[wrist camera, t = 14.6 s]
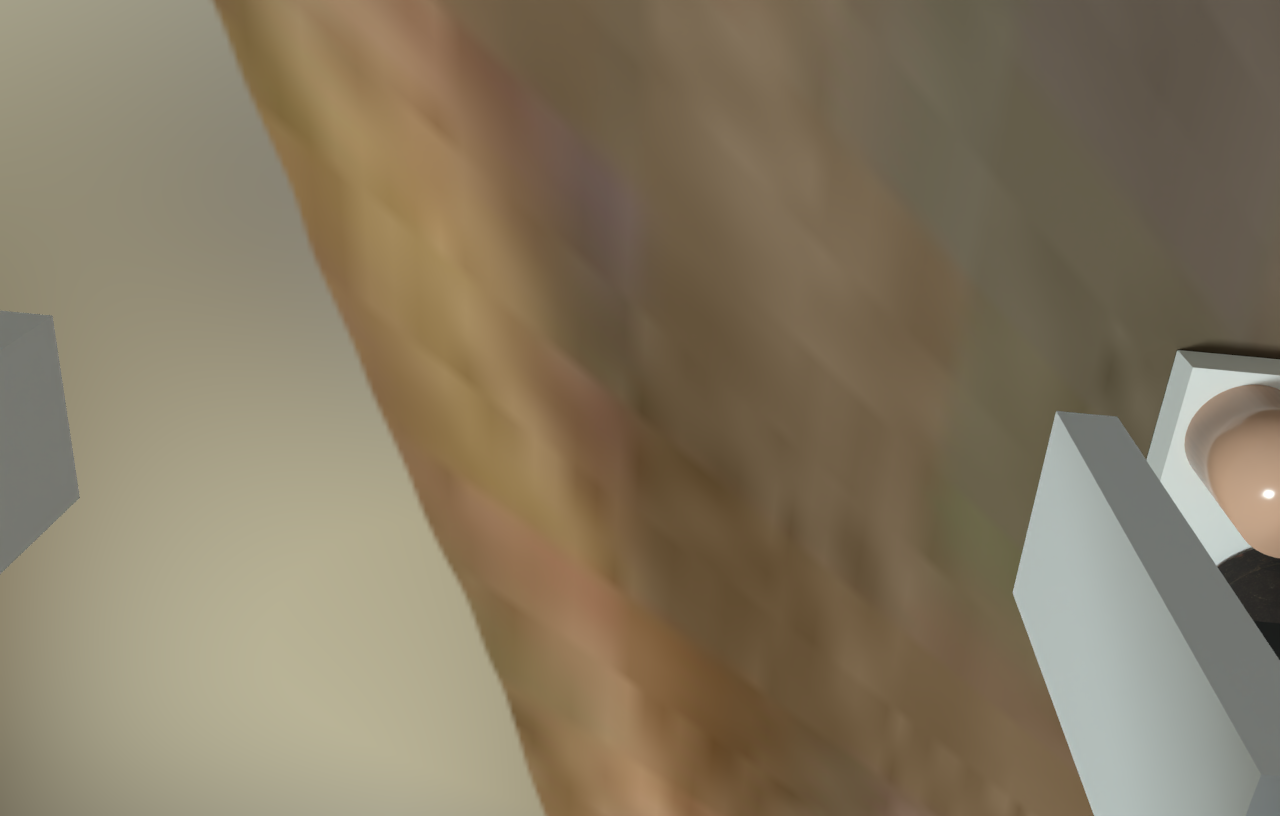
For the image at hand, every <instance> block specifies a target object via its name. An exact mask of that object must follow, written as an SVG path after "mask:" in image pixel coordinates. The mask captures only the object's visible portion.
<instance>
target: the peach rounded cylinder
mask: <svg viewBox="0 0 1280 816" xmlns="http://www.w3.org/2000/svg"><path fill="white" fill-rule="evenodd" d="M1184 446H1185V453H1186V457H1187V460H1188V462H1189V464H1190V466H1191V467H1192V469H1193V470H1194V471H1195V473H1196V474H1197V476H1198V477H1199V478H1200V480H1201V481H1202V482H1203V484H1204V485H1205V486H1206V488H1207V489H1208V491H1209V492H1210V493H1211V495H1212V496H1213V497H1214V499H1215V500H1216V502H1217V503H1218V504H1219V506H1220V507H1221V508H1222V510H1223V511H1224V512H1225V514H1226V515H1227V517H1228V518H1229V519H1230V521H1231V522H1232V523H1233V525H1234V526H1235V527H1236V529H1237V530H1238V532H1239V533H1240V534H1241V536H1242V537H1243V538H1244V540H1245V541H1246V542H1247V543H1248V544H1249V545H1250V546H1251V547H1253V548H1254V549H1256V550H1257V551H1259V552H1261V553H1263V554H1265V555H1268V556H1271V557H1275V558H1280V390H1279V389H1277V388H1274V387H1270V386H1266V385H1243V386H1238V387H1234V388H1231V389H1228V390H1226V391H1224V392H1221V393H1220V394H1218V395H1216V396H1214V397H1213V398H1211V399H1210V400H1209V401H1207V402H1206V403H1205V404H1204V405H1203V406H1202V407H1201V408H1200V409H1199V410H1198V411H1197V412H1196V414H1195V415H1194V417H1193V418H1192V420H1191V422H1190V423H1189V426H1188V428H1187V431H1186V435H1185V443H1184Z"/></svg>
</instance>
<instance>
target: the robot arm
mask: <svg viewBox="0 0 1280 816" xmlns="http://www.w3.org/2000/svg"><path fill="white" fill-rule="evenodd" d="M79 498H80V497H79V490H78V484H77V477H76V470H75V463H74V457H73V451H72V443H71V437H70V430H69V423H68V417H67V411H66V403H65V397H64V390H63V383H62V377H61V370H60V363H59V357H58V350H57V343H56V337H55V330H54V323H53V316H50V315H40V314H29V313H19V312H8V311H0V574H1V573H2V572H3V571H4V570H5V569H6V568H7V567H8V566H9V565H10V564H11V563H12V562H13V561H14V560H15V559H16V558H17V557H18V556H19V555H21V553H23V552H24V551H25V550H26V549H27V548H28V547H29V546H30V545H31V544H32V543H33V542H34V541H35V540H36V539H37V538H38V537H39V536H40V535H41V534H42V533H43V532H45V531H46V530H47V529H48V528H49V527H50V526H51V525H52V524H53V523H54V522H55V521H56V520H57V519H58V518H59V517H60V516H61V515H62V514H63V513H64V512H65V511H66V510H67V509H68V508H69V507H70V506H71V505H73V504H74V503H75V502H76V501H77V500H78V499H79ZM1013 595H1014V598H1015V600H1016V603H1017V606H1018V608H1019V611H1020V614H1021V617H1022V619H1023V622H1024V625H1025V628H1026V630H1027V633H1028V636H1029V639H1030V641H1031V644H1032V647H1033V650H1034V652H1035V655H1036V658H1037V661H1038V663H1039V666H1040V669H1041V671H1042V674H1043V677H1044V680H1045V682H1046V685H1047V688H1048V691H1049V693H1050V696H1051V699H1052V702H1053V704H1054V707H1055V710H1056V713H1057V715H1058V718H1059V721H1060V724H1061V726H1062V729H1063V732H1064V735H1065V737H1066V740H1067V743H1068V745H1069V748H1070V751H1071V754H1072V756H1073V759H1074V762H1075V765H1076V767H1077V770H1078V773H1079V776H1080V778H1081V781H1082V784H1083V787H1084V789H1085V792H1086V795H1087V798H1088V800H1089V803H1090V806H1091V809H1092V811H1093V814H1094V816H1280V623H1270V622H1261V621H1253V620H1252V618H1251V617H1250V615H1249V614H1248V612H1247V611H1246V609H1245V608H1244V606H1243V605H1242V603H1241V602H1240V600H1239V599H1238V597H1237V596H1236V594H1235V593H1234V591H1233V590H1232V588H1231V587H1230V585H1229V584H1228V582H1227V581H1226V579H1225V578H1224V576H1223V575H1222V573H1221V572H1220V570H1219V569H1218V567H1217V566H1216V564H1215V563H1214V561H1213V560H1212V558H1211V557H1210V555H1209V554H1208V552H1207V551H1206V549H1205V548H1204V546H1203V545H1202V543H1201V542H1200V540H1199V539H1198V537H1197V536H1196V534H1195V533H1194V531H1193V530H1192V528H1191V527H1190V525H1189V524H1188V522H1187V521H1186V519H1185V518H1184V516H1183V515H1182V513H1181V512H1180V510H1179V509H1178V507H1177V506H1176V504H1175V503H1174V501H1173V500H1172V498H1171V497H1170V495H1169V494H1168V492H1167V491H1166V489H1165V488H1164V486H1163V485H1162V483H1161V482H1160V480H1159V479H1158V477H1157V476H1156V474H1155V473H1154V471H1153V470H1152V468H1151V467H1150V465H1149V464H1148V462H1147V461H1146V459H1145V458H1144V456H1143V455H1142V453H1141V452H1140V450H1139V449H1138V447H1137V446H1136V444H1135V443H1134V441H1133V440H1132V438H1131V437H1130V435H1129V434H1128V432H1127V431H1126V429H1125V428H1124V426H1123V425H1122V423H1121V422H1120V420H1119V419H1118V417H1113V416H1103V415H1092V414H1082V413H1071V412H1061V411H1056V414H1055V419H1054V423H1053V427H1052V431H1051V435H1050V439H1049V444H1048V448H1047V452H1046V456H1045V460H1044V464H1043V469H1042V473H1041V477H1040V481H1039V485H1038V489H1037V494H1036V498H1035V502H1034V506H1033V510H1032V514H1031V519H1030V523H1029V527H1028V531H1027V535H1026V539H1025V544H1024V548H1023V552H1022V556H1021V560H1020V564H1019V569H1018V573H1017V577H1016V581H1015V585H1014V589H1013Z"/></svg>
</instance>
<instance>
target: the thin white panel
mask: <svg viewBox="0 0 1280 816" xmlns="http://www.w3.org/2000/svg"><path fill="white" fill-rule="evenodd" d="M1243 385H1266V386H1270V387H1274V388H1277V389H1279V390H1280V359H1270V358H1259V357H1249V356H1238V355H1227V354H1216V353H1205V352H1194V351H1184V350H1177V353H1176V357H1175V360H1174V364H1173V368H1172V371H1171V375H1170V378H1169V382H1168V385H1167V389H1166V392H1165V396H1164V400H1163V403H1162V407H1161V410H1160V414H1159V417H1158V421H1157V425H1156V428H1155V432H1154V435H1153V439H1152V442H1151V446H1150V449H1149V453H1148V457H1147V460H1146V461H1147V462H1148V464H1149V465H1150V467H1151V468H1152V470H1153V471H1154V473H1155V474H1156V476H1157V477H1158V479H1159V480H1160V482H1161V483H1162V485H1163V486H1164V488H1165V489H1166V491H1167V492H1168V494H1169V495H1170V497H1171V498H1172V500H1173V501H1174V503H1175V504H1176V506H1177V507H1178V509H1179V510H1180V512H1181V513H1182V515H1183V516H1184V518H1185V519H1186V521H1187V522H1188V524H1189V525H1190V527H1191V528H1192V530H1193V531H1194V533H1195V534H1196V536H1197V537H1198V539H1199V540H1200V542H1201V543H1202V545H1203V546H1204V548H1205V549H1206V551H1207V552H1208V554H1209V555H1210V557H1211V558H1212V560H1213V561H1214V563H1215V564H1216V566H1217V567H1218V566H1220V565H1221V564H1223V563H1224V562H1225V561H1227V560H1229V559H1231V558H1233V557H1234V556H1236V555H1238V554H1241V553H1243V552H1246V551H1249V550H1252V549H1254V548H1253V547H1251V546H1250V545H1249V544H1248V543H1247V542H1246V541H1245V540H1244V538H1243V537H1242V536H1241V534H1240V533H1239V532H1238V530H1237V529H1236V527H1235V526H1234V525H1233V523H1232V522H1231V521H1230V519H1229V518H1228V517H1227V515H1226V514H1225V512H1224V511H1223V510H1222V508H1221V507H1220V506H1219V504H1218V503H1217V502H1216V500H1215V499H1214V497H1213V496H1212V495H1211V493H1210V492H1209V491H1208V489H1207V488H1206V486H1205V485H1204V484H1203V482H1202V481H1201V480H1200V478H1199V477H1198V476H1197V474H1196V473H1195V471H1194V470H1193V469H1192V467H1191V466H1190V464H1189V462H1188V460H1187V457H1186V453H1185V446H1184V443H1185V435H1186V431H1187V428H1188V426H1189V423H1190V422H1191V420H1192V418H1193V417H1194V415H1195V414H1196V412H1197V411H1198V410H1199V409H1200V408H1201V407H1202V406H1203V405H1204V404H1205V403H1206V402H1207V401H1209V400H1210V399H1211V398H1213V397H1214V396H1216V395H1218V394H1220V393H1221V392H1224V391H1226V390H1228V389H1231V388H1234V387H1238V386H1243Z"/></svg>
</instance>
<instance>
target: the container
mask: <svg viewBox="0 0 1280 816" xmlns="http://www.w3.org/2000/svg"><path fill="white" fill-rule="evenodd" d="M1218 569H1219V570H1220V572H1221V573H1222V575H1223V576H1224V578H1225V579H1226V581H1227V582H1228V584H1229V585H1230V587H1231V588H1232V590H1233V591H1234V593H1235V594H1236V596H1237V597H1238V599H1239V600H1240V602H1241V603H1242V605H1243V606H1244V608H1245V609H1246V611H1247V612H1248V614H1249V615H1250V617H1251V618H1252V620H1253V621H1261V622H1270V623H1280V558H1275V557H1271V556H1268V555H1265V554H1263V553H1261V552H1259V551H1257V550H1256V549H1252V550H1249V551H1246V552H1243V553H1241V554H1238V555H1236V556H1234V557H1233V558H1231V559H1229V560H1227V561H1225V562H1224V563H1223V564H1221V565H1220V566H1218Z"/></svg>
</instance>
